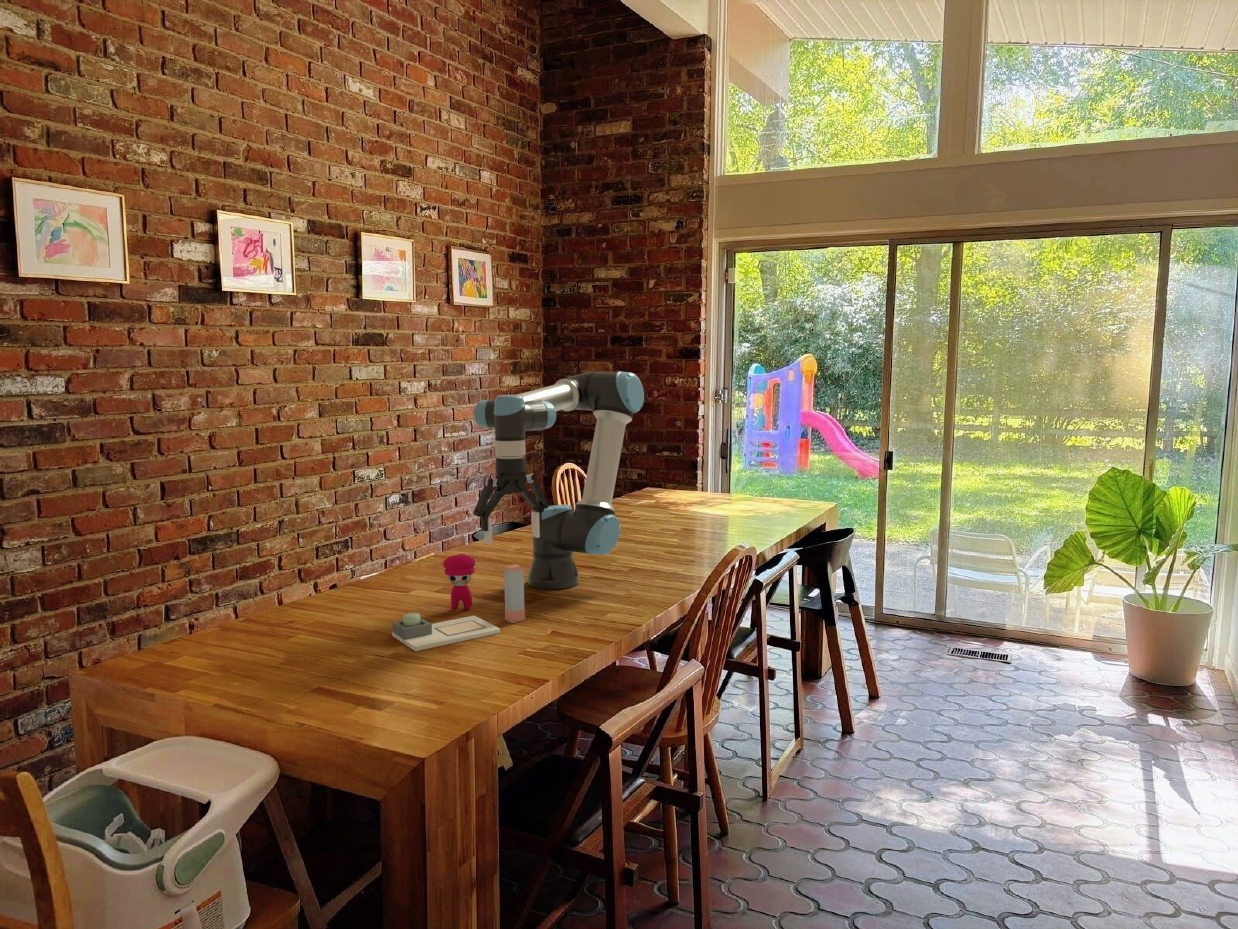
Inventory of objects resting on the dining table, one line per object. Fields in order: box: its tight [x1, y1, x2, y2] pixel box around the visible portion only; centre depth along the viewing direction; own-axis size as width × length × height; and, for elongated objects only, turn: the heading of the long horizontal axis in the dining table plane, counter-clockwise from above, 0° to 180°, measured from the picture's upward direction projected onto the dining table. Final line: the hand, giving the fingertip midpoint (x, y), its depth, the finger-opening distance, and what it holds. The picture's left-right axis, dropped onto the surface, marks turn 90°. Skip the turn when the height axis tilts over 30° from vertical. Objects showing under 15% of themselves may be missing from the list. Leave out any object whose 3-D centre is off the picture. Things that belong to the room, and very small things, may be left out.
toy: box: [442, 553, 476, 610], centre depth 234 cm, size 8×8×15 cm
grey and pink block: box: [503, 564, 526, 624], centre depth 225 cm, size 4×4×14 cm
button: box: [402, 612, 421, 628], centre depth 212 cm, size 4×4×3 cm
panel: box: [391, 615, 501, 652], centre depth 214 cm, size 22×14×4 cm, turn 126°
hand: (512, 540), depth 223 cm, fingers open, 13 cm apart
